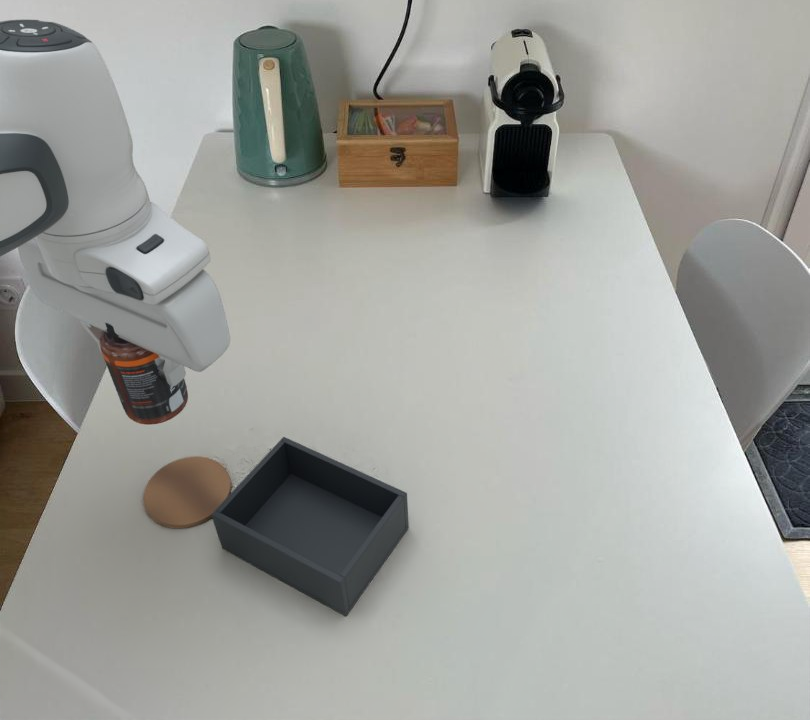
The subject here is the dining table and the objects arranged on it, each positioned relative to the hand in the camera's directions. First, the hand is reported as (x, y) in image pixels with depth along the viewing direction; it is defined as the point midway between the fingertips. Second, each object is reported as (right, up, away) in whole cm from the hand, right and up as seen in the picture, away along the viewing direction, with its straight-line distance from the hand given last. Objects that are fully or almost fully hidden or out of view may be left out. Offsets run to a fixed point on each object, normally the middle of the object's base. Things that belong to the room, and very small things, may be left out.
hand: (144, 365), depth 72 cm
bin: (+15, -17, +8) cm, 24 cm away
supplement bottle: (0, -4, +4) cm, 5 cm away
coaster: (+1, -13, +12) cm, 18 cm away
